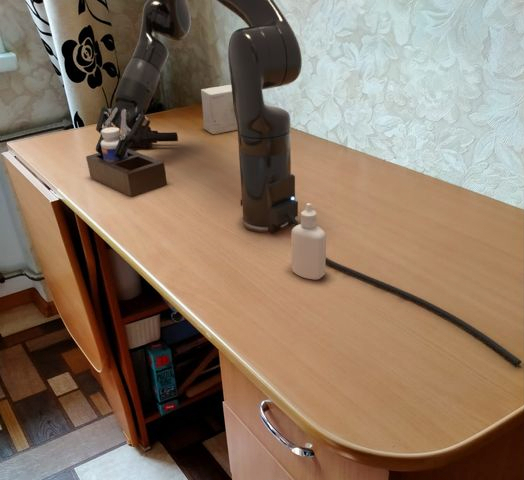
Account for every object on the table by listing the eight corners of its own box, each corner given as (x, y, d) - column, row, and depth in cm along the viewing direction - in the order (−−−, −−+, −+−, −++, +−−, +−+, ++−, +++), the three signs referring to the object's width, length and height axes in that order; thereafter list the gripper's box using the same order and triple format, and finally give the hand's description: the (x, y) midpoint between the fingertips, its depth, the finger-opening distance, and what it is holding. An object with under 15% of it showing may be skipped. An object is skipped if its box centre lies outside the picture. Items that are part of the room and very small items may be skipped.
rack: (167, 184, 128) (164, 162, 125) (131, 197, 123) (127, 174, 120) (125, 166, 138) (121, 145, 135) (90, 177, 133) (85, 156, 130)
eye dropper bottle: (312, 263, 97) (313, 195, 90) (328, 278, 93) (330, 208, 86) (289, 268, 96) (288, 200, 88) (303, 284, 92) (304, 213, 84)
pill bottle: (102, 176, 131) (92, 133, 125) (114, 168, 135) (105, 125, 129) (123, 178, 130) (115, 134, 124) (134, 169, 134) (126, 126, 128)
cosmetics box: (213, 135, 155) (209, 94, 148) (203, 129, 159) (199, 89, 153) (247, 128, 159) (245, 87, 152) (237, 122, 163) (234, 83, 157)
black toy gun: (185, 118, 154) (131, 118, 156) (168, 132, 138) (108, 133, 139) (187, 138, 157) (134, 139, 159) (170, 155, 141) (111, 155, 142)
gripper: (105, 72, 129) (75, 141, 129) (150, 79, 122) (119, 152, 122) (126, 92, 135) (98, 157, 135) (171, 99, 128) (141, 169, 128)
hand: (108, 154), depth 128 cm, fingers closed on pill bottle, 5 cm apart
